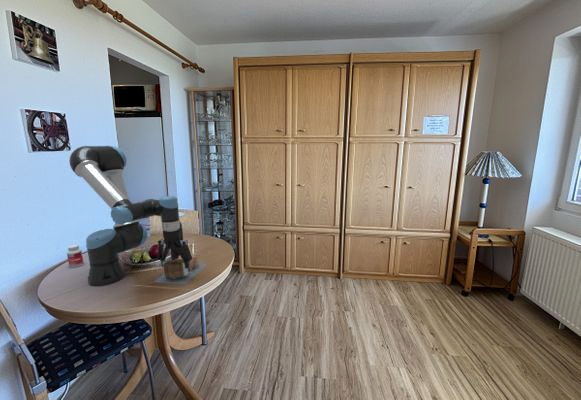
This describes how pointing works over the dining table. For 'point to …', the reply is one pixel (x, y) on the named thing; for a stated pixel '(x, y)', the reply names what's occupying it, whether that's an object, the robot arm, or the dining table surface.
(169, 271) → the gear
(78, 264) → the pill bottle
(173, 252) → the wine bottle
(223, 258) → the dining table surface
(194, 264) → the gear
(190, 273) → the gear board
